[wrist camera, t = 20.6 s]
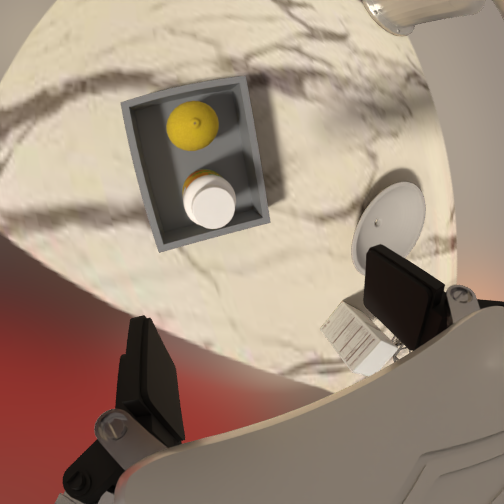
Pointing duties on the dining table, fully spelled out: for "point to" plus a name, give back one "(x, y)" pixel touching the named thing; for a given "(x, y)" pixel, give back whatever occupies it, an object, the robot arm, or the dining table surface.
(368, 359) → the supplement box
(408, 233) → the dish
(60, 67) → the dining table surface
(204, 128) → the lemon
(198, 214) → the supplement bottle
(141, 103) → the tote
